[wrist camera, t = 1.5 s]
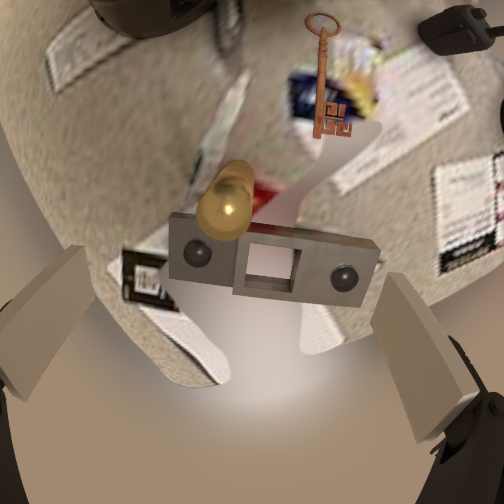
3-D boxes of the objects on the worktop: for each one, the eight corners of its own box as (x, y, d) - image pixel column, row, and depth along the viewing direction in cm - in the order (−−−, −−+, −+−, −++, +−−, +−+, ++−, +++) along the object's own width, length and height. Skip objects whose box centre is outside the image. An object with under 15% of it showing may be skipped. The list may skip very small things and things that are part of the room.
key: (348, 142, 28) (355, 22, 22) (351, 143, 28) (358, 20, 21) (297, 136, 28) (305, 10, 21) (299, 136, 27) (307, 8, 20)
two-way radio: (452, 50, 21) (535, 38, 7) (437, 67, 22) (525, 58, 9) (423, 16, 19) (500, -14, 6) (406, 32, 21) (486, 1, 8)
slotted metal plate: (172, 212, 32) (163, 223, 29) (372, 240, 33) (382, 253, 29) (172, 272, 35) (164, 287, 32) (354, 294, 36) (361, 310, 33)
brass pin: (223, 158, 29) (198, 185, 17) (256, 162, 29) (255, 192, 18) (219, 190, 31) (194, 237, 19) (252, 194, 31) (247, 244, 19)
